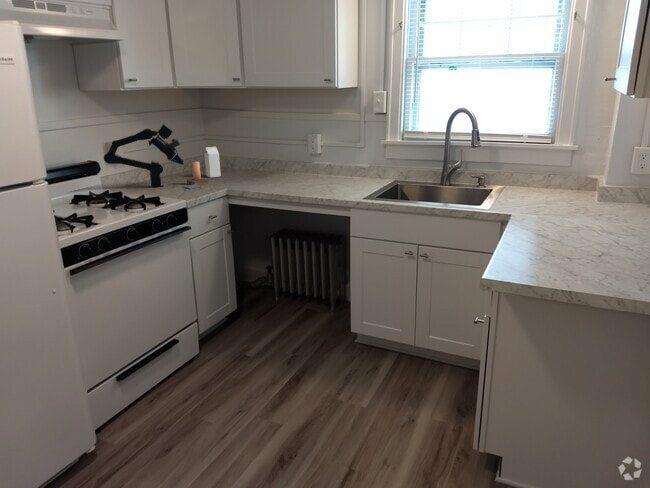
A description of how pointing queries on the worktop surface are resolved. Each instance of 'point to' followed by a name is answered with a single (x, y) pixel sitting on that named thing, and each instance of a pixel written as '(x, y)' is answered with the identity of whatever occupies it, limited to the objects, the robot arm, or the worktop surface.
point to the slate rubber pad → (192, 186)
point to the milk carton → (212, 162)
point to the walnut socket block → (197, 182)
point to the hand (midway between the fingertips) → (183, 163)
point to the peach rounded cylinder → (196, 171)
